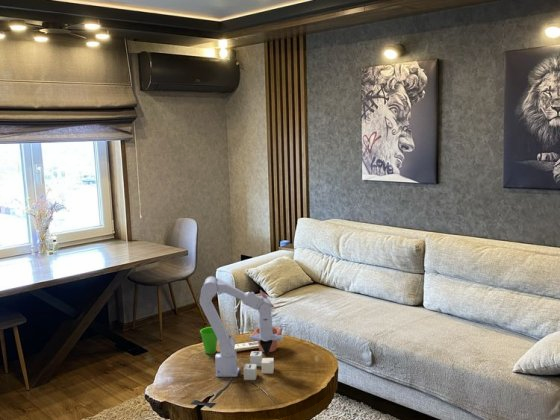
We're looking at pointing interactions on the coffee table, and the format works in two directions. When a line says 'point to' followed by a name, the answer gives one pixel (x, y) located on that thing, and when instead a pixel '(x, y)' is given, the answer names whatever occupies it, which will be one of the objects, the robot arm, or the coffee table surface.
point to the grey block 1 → (250, 371)
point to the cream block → (267, 365)
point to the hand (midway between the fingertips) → (267, 355)
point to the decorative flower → (274, 329)
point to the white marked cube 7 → (256, 357)
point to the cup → (209, 340)
